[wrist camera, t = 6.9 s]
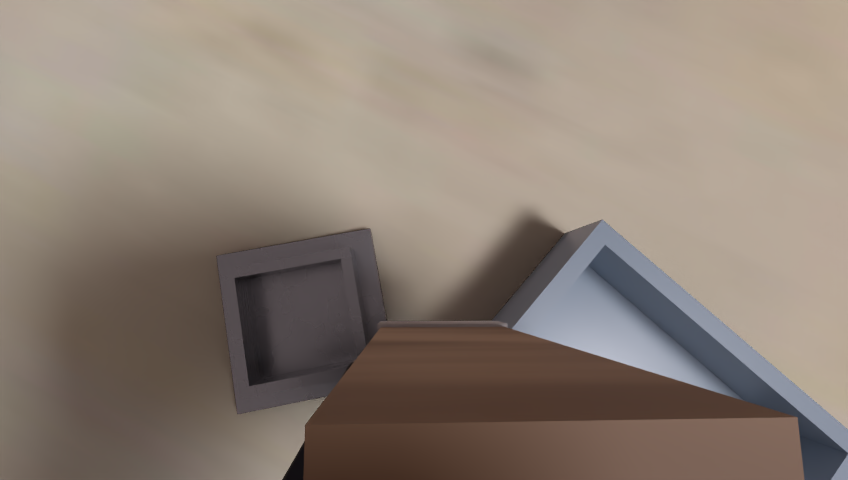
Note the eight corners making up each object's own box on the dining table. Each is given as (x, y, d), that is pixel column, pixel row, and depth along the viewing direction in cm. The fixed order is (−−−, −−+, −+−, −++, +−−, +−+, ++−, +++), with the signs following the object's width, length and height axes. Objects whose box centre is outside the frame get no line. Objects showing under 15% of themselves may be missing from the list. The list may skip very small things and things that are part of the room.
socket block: (396, 379, 22) (395, 391, 20) (241, 410, 22) (220, 426, 19) (370, 230, 23) (366, 222, 20) (221, 256, 23) (197, 252, 20)
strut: (499, 443, 15) (880, 1033, 3) (379, 445, 15) (267, 1082, 3) (496, 320, 15) (805, 404, 4) (380, 321, 15) (292, 412, 3)
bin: (609, 664, 21) (664, 764, 17) (379, 453, 22) (373, 495, 17) (781, 420, 23) (873, 451, 18) (565, 233, 24) (602, 219, 19)
